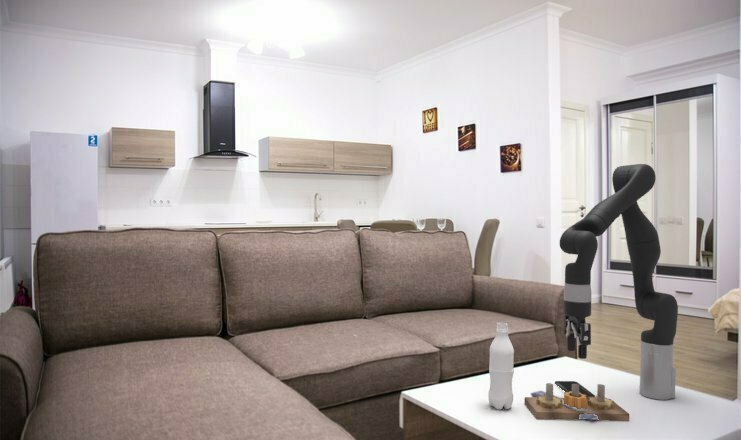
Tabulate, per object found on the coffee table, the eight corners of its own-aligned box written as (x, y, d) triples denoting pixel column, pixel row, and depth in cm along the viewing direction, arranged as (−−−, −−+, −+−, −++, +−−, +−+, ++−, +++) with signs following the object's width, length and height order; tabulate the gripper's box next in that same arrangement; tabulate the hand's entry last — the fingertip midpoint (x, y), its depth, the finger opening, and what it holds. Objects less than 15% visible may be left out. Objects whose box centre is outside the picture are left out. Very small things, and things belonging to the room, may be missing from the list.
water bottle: (496, 400, 163) (498, 319, 162) (517, 407, 158) (519, 323, 157) (483, 406, 158) (485, 323, 157) (504, 413, 153) (506, 327, 152)
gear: (581, 401, 158) (581, 391, 158) (589, 409, 152) (590, 398, 151) (560, 401, 158) (560, 391, 158) (568, 408, 152) (568, 398, 152)
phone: (571, 396, 166) (553, 380, 181) (571, 399, 166) (553, 384, 181) (596, 396, 166) (576, 381, 181) (596, 400, 166) (576, 384, 181)
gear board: (610, 405, 161) (610, 379, 160) (629, 421, 149) (630, 392, 148) (524, 403, 161) (525, 377, 161) (536, 419, 149) (537, 390, 149)
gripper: (600, 303, 147) (599, 361, 147) (580, 295, 161) (579, 348, 161) (573, 303, 147) (572, 361, 147) (556, 294, 161) (555, 347, 161)
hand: (576, 354), depth 154 cm, fingers open, 8 cm apart
